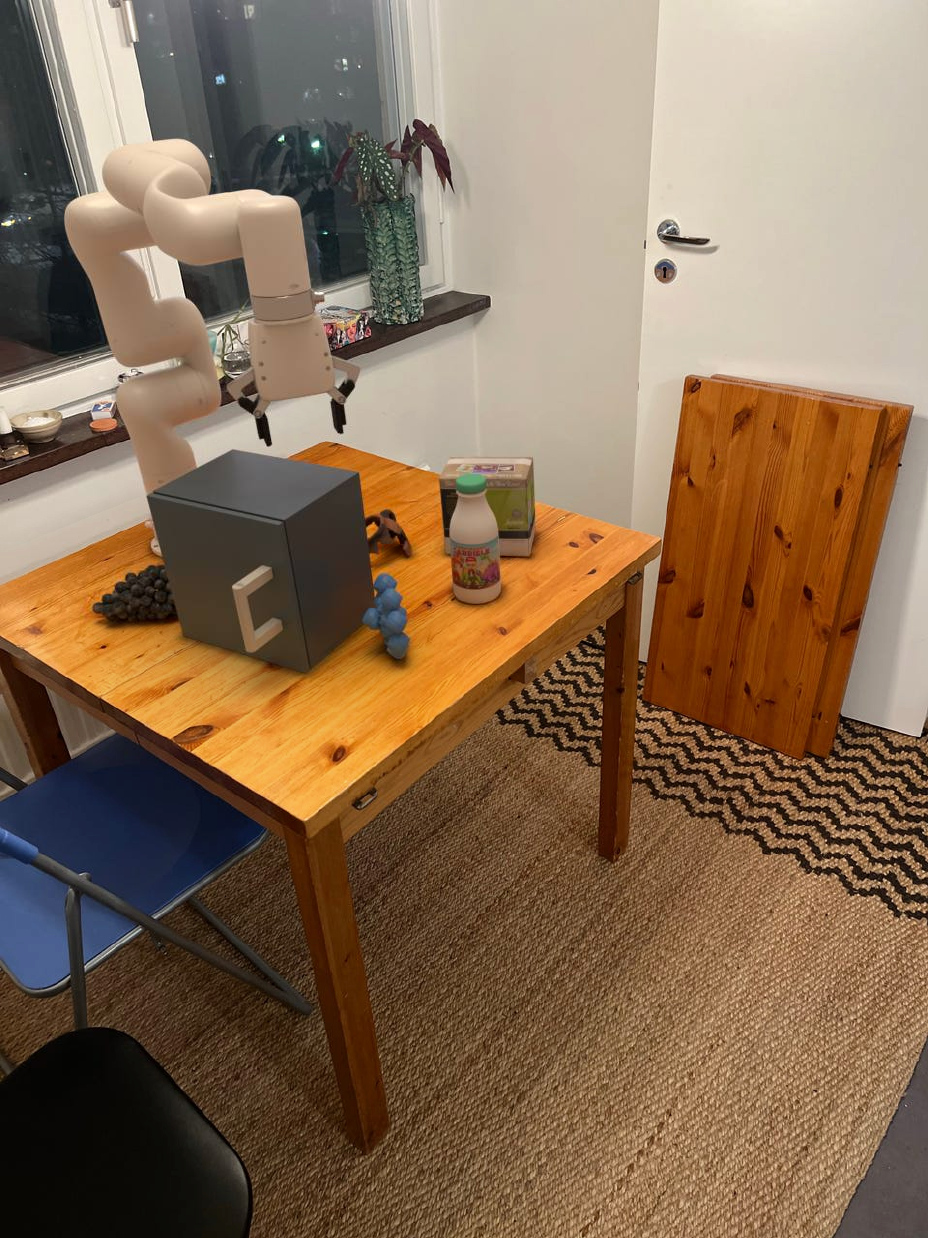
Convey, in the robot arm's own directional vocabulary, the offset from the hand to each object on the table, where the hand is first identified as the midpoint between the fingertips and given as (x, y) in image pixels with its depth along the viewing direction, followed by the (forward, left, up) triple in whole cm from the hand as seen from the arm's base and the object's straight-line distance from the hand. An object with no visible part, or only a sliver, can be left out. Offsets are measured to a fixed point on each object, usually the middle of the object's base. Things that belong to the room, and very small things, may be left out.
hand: (303, 436), depth 122 cm
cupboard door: (-10, -13, -32) cm, 36 cm away
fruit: (-32, -8, -32) cm, 46 cm away
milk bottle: (+14, +20, -32) cm, 40 cm away
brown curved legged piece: (-8, +26, -32) cm, 42 cm away
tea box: (+8, +36, -32) cm, 49 cm away
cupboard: (-10, -1, -32) cm, 33 cm away
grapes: (+10, 0, -32) cm, 33 cm away
